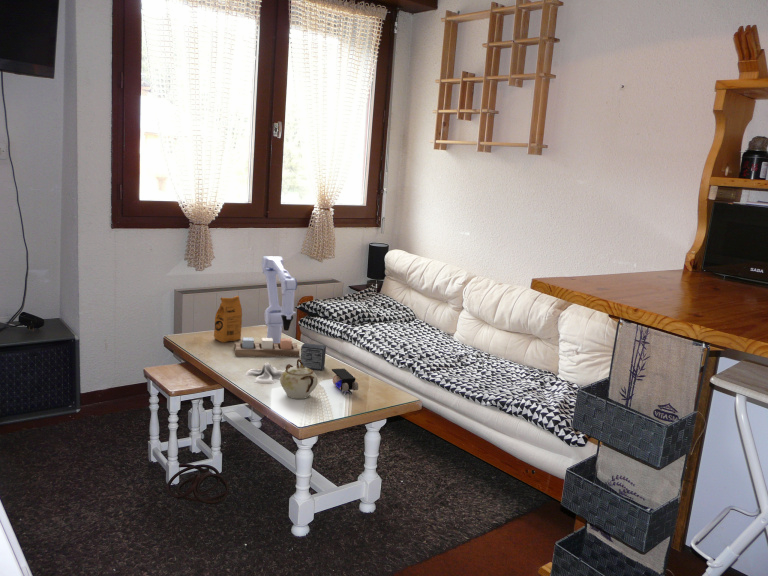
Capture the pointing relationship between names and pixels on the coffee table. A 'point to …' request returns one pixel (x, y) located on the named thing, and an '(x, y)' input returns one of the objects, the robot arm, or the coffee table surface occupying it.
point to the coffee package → (228, 320)
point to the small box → (313, 356)
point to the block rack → (266, 350)
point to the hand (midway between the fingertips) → (286, 330)
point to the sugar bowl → (298, 381)
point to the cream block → (267, 343)
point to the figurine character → (344, 380)
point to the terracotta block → (285, 343)
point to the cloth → (265, 374)
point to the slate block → (248, 342)
